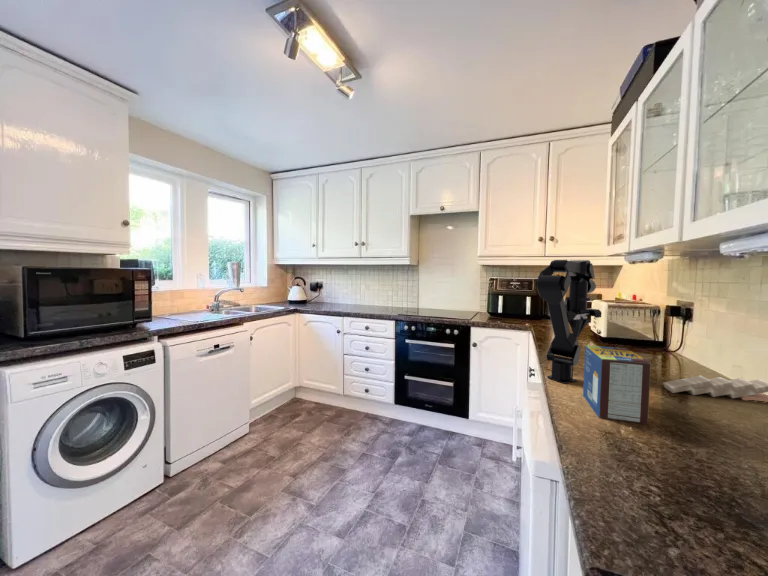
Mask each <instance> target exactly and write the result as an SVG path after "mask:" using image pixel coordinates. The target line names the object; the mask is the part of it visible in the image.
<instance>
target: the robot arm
mask: <svg viewBox="0 0 768 576" xmlns="http://www.w3.org/2000/svg"><path fill="white" fill-rule="evenodd" d="M554 273H565V276H564V275H554ZM595 279H596V277H595V271H594V265H593V262H591V261H590V260H589V259H583V260H581V259H578V260H574V259H573V260H570V259H569V260H568V259H553V260H551V261H550V263H549V265H548V266H547V267H546V268H544V269H543V270H541V271H540V272H539V275H538V277H537V279H536V281H535V288H536V290H537V292H538V294H539V297H540V298H541V299H542V300H543V301H544V302H546V305H547V308H548V314H549V318H550V323H551V326H552V330H553V331H552V332H553V334H554V335H553V336H554V337H553V339H552V340H551V342H550V345H549V348H548V350H547V353H546V361H548V362H549V361H550V362H551V375H547V378H548V379H550V380H553V381H556V382H559V383H561V384H568V383H573V382H577V379H576V378H574V366H576V365H578V364H579V361H580V356H581V345H580V344H579V343H580V342H579V340H578V338H579V337H580V335H581V333H582V332H583V331H584V329H585V328H586V326H587V325H588V323H589V322H591V320H592V319H591V318H588V316H590V317H594V318H598V319H599V318H602V311H601V310H600V309H597V308H588V302H590V301H591V298H590V297H588V294H592V293H593V292H594V291H595V290H596V288H597V285H596V282H595V281H594V280H595ZM567 293H568V296H566V294H567ZM565 296H566V297H565ZM564 297H565V299H564ZM570 329H571V330H570Z"/></svg>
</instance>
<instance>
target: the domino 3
mask: <svg viewBox="0 0 768 576" xmlns="http://www.w3.org/2000/svg"><path fill="white" fill-rule="evenodd" d="M727 380H728V381H730V382H732V384H733V386H734V388H729V389H724V390H719V391H714V392H708V393H706V394H707V395H708V396H710V397H712V398H715V397H720V396H727V394H732V393H737V392H742V391H748V390H753V389H755V387H754V385H753V384H752V383H750V382H748V381H749V380H746V379H743V378H741V377H740V378H733V379H730V380H729V379H727Z"/></svg>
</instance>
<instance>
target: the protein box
mask: <svg viewBox="0 0 768 576" xmlns="http://www.w3.org/2000/svg"><path fill="white" fill-rule="evenodd" d="M584 347H585V348H584V366H583V367H584V369H583V387H582V389H583V392H582V393H583V394H582V396H583V397H584V399H585V400H586V402H587V403H588V405H589V406H590V407H591V409H592V410H593V412H594V413H595V414H596V416H597V417H598V418H599V419H606V420H612V421H620V422H629V423H636V424H642V425H648V423H649V407H650V388H651V387H650V386H651V373H652V372H651V369H652V367H651V366H652V363H651V361H649V360H648V359H646V358H644V357H642V356H641V355H639V354H637V353H636V352H633V351H631V350H630V349H629V348H627V347H617V346H615V347H613V346H604V345H603V346H601V345H588V344H585V345H584Z"/></svg>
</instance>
